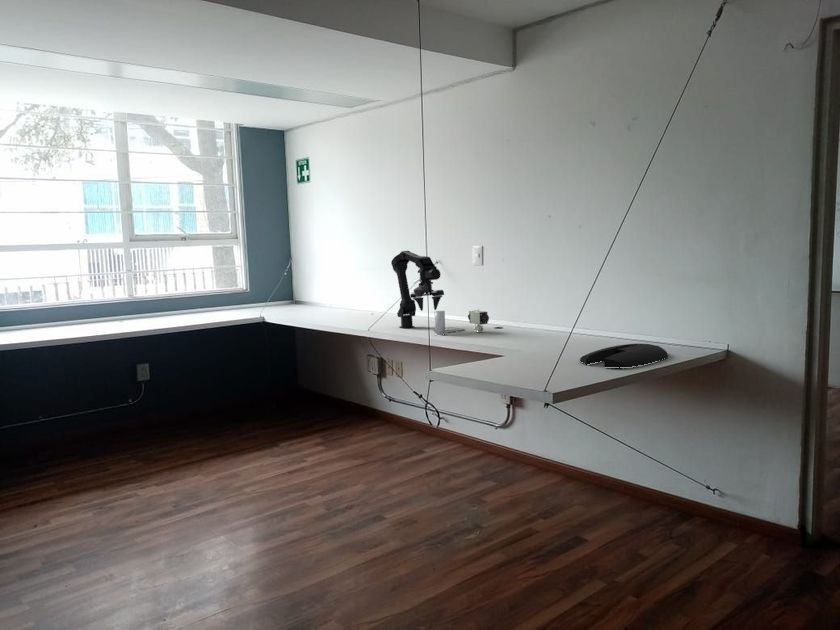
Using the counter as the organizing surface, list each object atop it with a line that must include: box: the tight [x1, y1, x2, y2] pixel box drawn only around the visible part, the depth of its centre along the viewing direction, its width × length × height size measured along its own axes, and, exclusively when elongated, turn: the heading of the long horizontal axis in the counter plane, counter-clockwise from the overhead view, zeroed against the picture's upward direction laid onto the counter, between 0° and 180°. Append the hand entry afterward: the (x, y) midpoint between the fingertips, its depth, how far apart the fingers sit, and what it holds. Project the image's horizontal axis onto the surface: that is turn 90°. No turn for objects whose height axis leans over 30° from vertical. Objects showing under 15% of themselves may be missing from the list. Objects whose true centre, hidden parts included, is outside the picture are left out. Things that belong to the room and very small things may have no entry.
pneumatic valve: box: [467, 308, 490, 333], centre depth 351 cm, size 6×12×12 cm, turn 35°
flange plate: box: [433, 326, 466, 334], centre depth 360 cm, size 12×12×1 cm
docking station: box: [579, 343, 669, 368], centre depth 270 cm, size 25×40×5 cm, turn 129°
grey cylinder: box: [434, 310, 447, 336], centre depth 348 cm, size 6×6×12 cm
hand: (428, 310), depth 358 cm, fingers open, 9 cm apart
